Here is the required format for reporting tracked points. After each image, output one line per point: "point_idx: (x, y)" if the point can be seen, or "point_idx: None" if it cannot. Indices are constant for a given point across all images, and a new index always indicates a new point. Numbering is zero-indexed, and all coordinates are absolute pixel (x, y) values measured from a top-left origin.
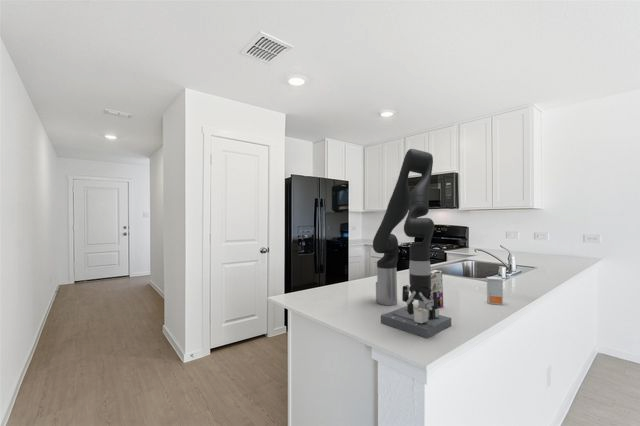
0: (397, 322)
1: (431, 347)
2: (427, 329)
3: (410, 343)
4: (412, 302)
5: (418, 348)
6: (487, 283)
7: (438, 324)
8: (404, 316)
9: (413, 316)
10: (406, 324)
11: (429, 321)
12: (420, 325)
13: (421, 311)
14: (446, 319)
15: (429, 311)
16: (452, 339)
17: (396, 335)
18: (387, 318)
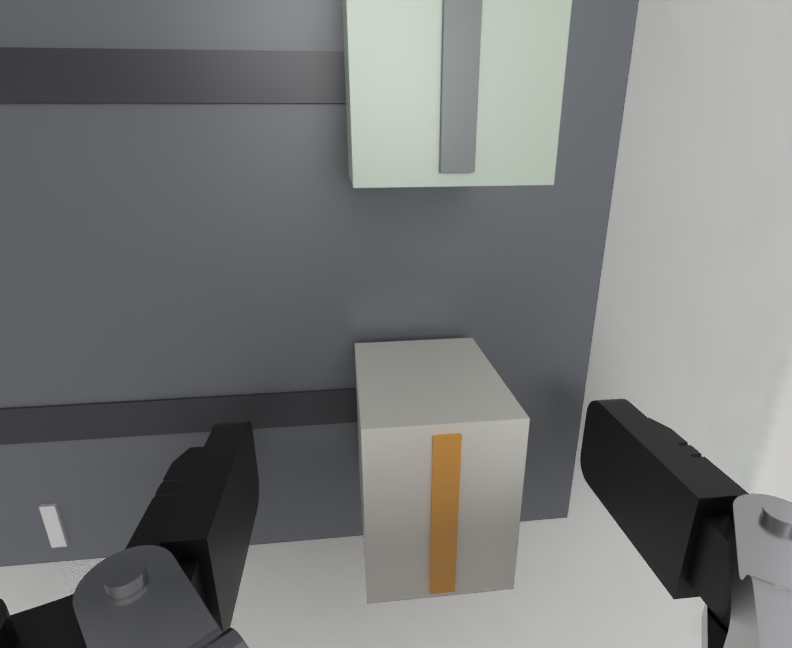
0: None
1: (627, 557)
2: (567, 507)
3: (481, 613)
4: (179, 568)
5: (564, 626)
6: None
7: (595, 281)
8: (101, 381)
9: (182, 280)
10: (307, 528)
11: (468, 288)
12: None
13: (489, 557)
14: (624, 2)
15: (662, 571)
16: (714, 316)
17: (311, 593)
18: (10, 554)
